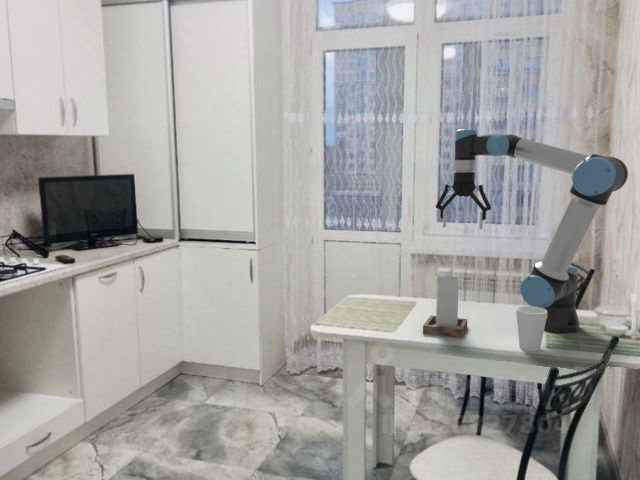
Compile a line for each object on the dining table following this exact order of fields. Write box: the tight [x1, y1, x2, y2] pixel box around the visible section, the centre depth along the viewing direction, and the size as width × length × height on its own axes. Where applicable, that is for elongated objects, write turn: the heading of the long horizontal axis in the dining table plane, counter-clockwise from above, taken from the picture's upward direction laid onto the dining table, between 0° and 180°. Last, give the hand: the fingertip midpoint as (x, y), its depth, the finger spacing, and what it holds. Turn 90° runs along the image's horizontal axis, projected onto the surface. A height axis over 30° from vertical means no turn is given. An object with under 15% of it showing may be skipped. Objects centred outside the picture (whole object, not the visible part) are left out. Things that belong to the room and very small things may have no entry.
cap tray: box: [422, 314, 468, 339], centre depth 210 cm, size 13×13×3 cm
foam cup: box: [515, 305, 547, 353], centre depth 190 cm, size 10×9×13 cm
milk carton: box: [435, 275, 459, 328], centre depth 209 cm, size 7×7×19 cm
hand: (462, 228), depth 221 cm, fingers open, 13 cm apart
